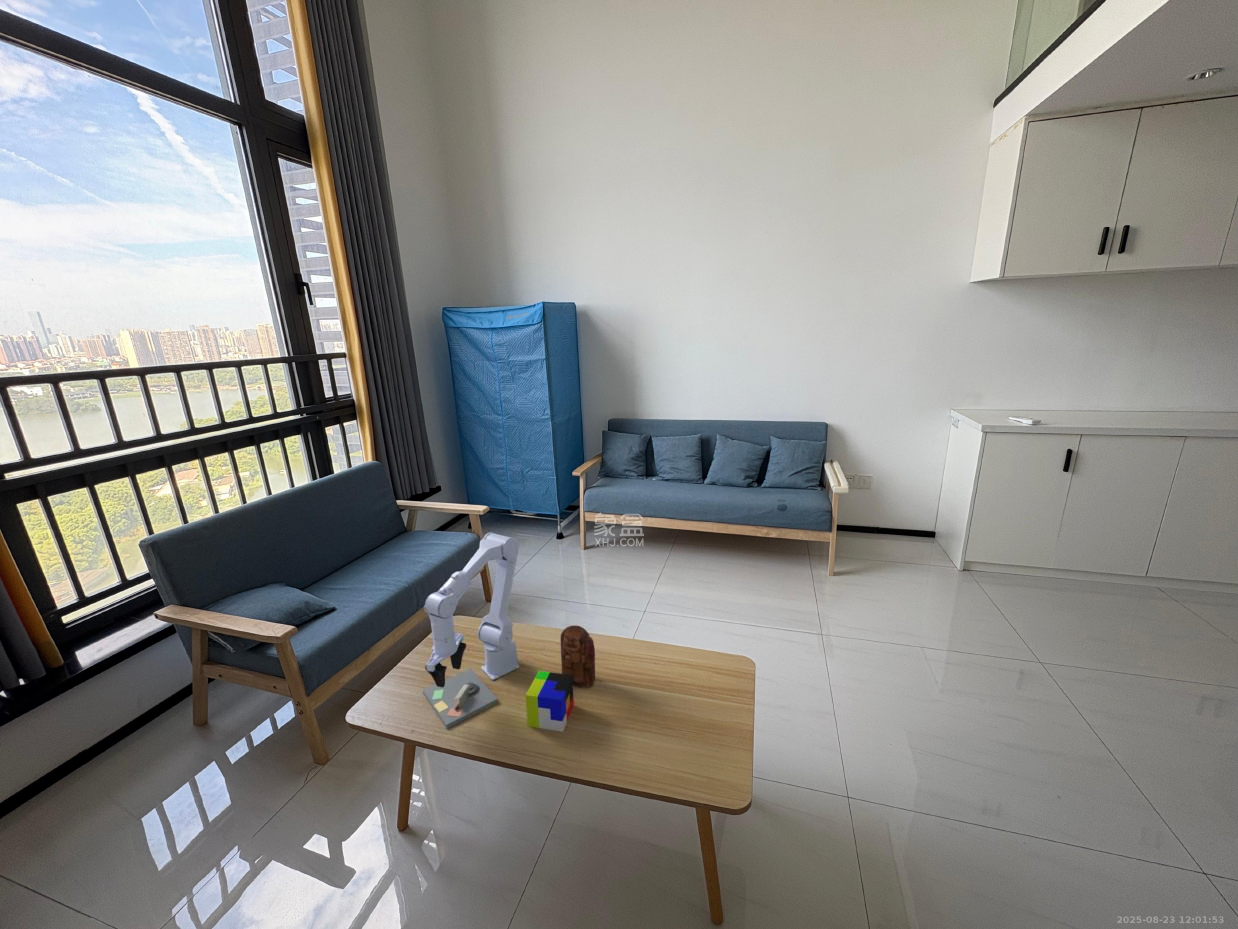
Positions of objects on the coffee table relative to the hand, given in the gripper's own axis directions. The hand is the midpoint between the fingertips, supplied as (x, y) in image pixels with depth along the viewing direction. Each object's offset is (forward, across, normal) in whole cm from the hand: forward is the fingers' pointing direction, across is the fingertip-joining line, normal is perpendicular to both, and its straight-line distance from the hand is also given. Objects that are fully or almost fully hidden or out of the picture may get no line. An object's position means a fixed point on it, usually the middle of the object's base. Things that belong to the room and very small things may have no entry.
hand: (448, 677), depth 137 cm
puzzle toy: (+10, -4, +29) cm, 31 cm away
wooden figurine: (+10, -20, +31) cm, 38 cm away
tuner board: (+10, -4, 0) cm, 11 cm away
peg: (+9, -3, +3) cm, 9 cm away
